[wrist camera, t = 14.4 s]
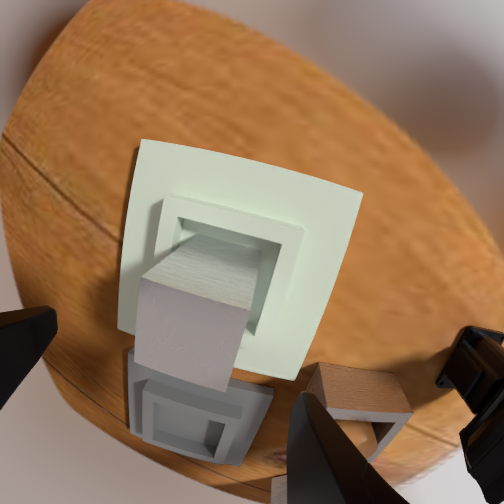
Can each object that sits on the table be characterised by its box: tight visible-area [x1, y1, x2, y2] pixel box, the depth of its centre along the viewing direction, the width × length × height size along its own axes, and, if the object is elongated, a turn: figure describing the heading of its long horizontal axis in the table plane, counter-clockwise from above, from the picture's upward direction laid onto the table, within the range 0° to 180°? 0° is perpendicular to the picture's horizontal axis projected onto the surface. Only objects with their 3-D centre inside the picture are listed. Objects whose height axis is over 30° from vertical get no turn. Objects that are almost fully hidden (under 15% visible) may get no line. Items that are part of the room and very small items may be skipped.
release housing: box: [305, 362, 413, 464], centre depth 18 cm, size 7×7×5 cm
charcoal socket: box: [128, 347, 274, 467], centre depth 21 cm, size 12×12×2 cm
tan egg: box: [335, 419, 378, 459], centre depth 17 cm, size 4×4×5 cm
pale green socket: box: [117, 139, 363, 381], centre depth 17 cm, size 14×14×2 cm
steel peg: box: [134, 233, 262, 392], centre depth 14 cm, size 4×4×8 cm
